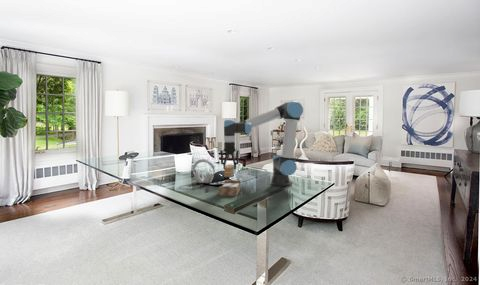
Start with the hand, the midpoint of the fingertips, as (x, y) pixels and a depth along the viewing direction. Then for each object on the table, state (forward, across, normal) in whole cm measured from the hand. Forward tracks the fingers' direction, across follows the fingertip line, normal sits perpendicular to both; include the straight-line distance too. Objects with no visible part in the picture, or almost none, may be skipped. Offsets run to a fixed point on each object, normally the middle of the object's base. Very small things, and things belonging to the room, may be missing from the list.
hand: (229, 173), depth 190 cm
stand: (+13, 0, 0) cm, 13 cm away
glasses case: (+1, 0, 0) cm, 1 cm away
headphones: (+13, +26, -22) cm, 36 cm away
